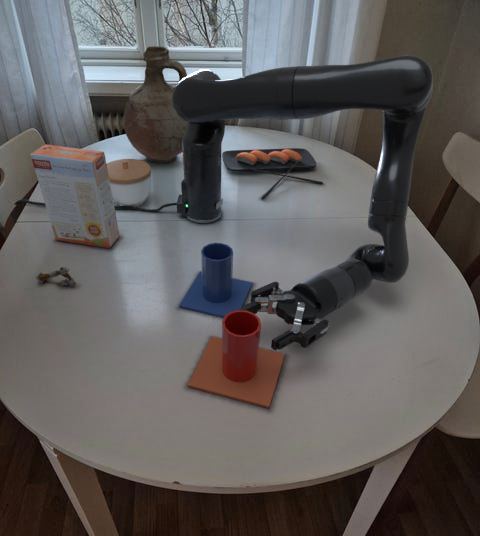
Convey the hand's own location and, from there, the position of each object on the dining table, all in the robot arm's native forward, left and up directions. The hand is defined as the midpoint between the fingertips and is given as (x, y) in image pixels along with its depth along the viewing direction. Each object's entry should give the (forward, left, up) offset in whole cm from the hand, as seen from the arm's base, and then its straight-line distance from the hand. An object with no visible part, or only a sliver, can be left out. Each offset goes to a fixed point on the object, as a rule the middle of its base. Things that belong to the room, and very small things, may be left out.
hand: (255, 330), depth 71 cm
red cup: (-2, -3, -7) cm, 8 cm away
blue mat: (-12, +15, -8) cm, 21 cm away
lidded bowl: (-47, +45, -8) cm, 66 cm away
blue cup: (-12, +15, -8) cm, 21 cm away
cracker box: (-48, +25, -8) cm, 55 cm away
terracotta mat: (-2, -3, -8) cm, 9 cm away
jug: (-51, +75, -8) cm, 91 cm away
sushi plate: (-14, +75, -8) cm, 77 cm away
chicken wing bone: (-45, +8, -8) cm, 46 cm away
